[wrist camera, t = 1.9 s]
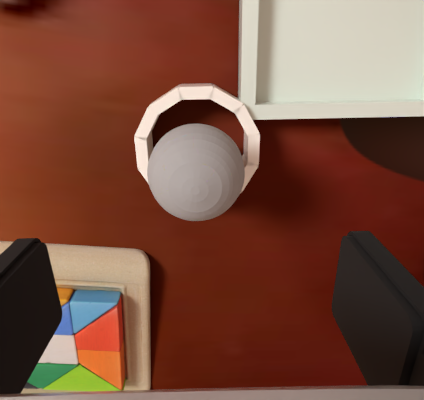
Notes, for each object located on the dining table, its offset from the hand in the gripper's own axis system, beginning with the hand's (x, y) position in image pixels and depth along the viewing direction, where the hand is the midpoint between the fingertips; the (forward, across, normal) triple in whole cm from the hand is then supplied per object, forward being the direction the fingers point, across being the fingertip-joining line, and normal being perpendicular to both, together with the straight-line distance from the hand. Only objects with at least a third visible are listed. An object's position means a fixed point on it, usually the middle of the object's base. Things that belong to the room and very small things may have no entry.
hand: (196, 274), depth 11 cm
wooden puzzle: (+17, +14, +17) cm, 28 cm away
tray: (+16, -10, -10) cm, 21 cm away
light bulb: (+17, 0, -1) cm, 17 cm away
